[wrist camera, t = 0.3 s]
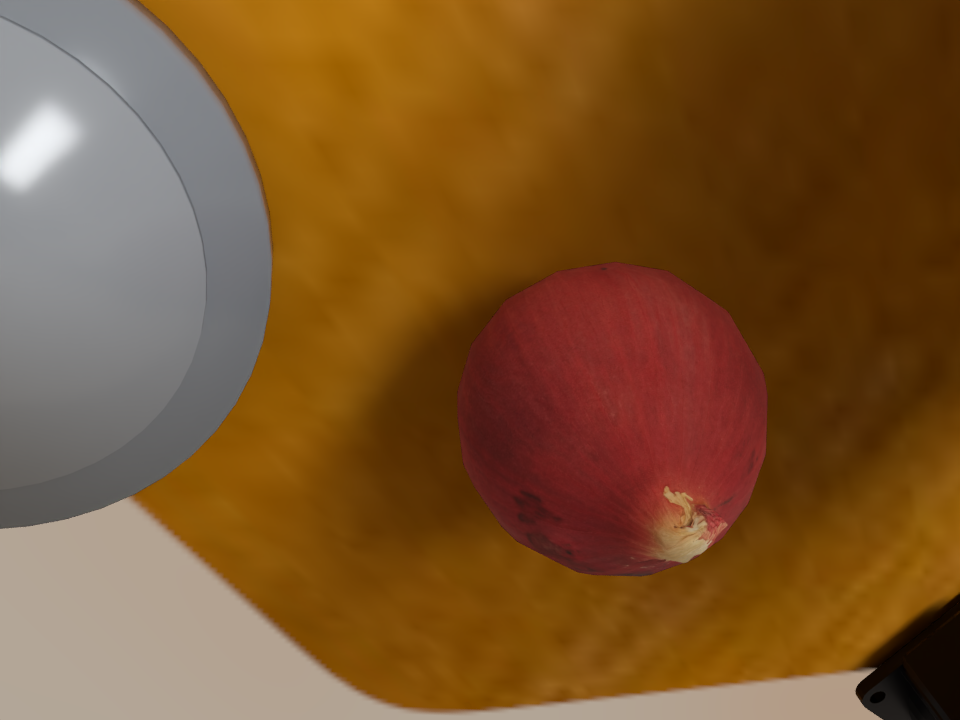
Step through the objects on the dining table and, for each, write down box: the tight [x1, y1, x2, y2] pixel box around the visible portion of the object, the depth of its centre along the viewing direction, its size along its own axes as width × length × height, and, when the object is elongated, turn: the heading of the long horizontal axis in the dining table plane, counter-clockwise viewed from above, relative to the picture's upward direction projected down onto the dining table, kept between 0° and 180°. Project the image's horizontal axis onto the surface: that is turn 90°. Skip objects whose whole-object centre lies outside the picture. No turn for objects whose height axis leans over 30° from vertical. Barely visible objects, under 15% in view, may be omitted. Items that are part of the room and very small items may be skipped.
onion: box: [457, 262, 768, 576], centre depth 17 cm, size 6×6×8 cm
